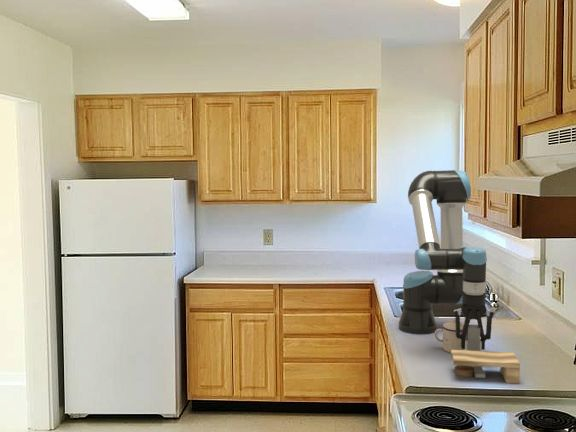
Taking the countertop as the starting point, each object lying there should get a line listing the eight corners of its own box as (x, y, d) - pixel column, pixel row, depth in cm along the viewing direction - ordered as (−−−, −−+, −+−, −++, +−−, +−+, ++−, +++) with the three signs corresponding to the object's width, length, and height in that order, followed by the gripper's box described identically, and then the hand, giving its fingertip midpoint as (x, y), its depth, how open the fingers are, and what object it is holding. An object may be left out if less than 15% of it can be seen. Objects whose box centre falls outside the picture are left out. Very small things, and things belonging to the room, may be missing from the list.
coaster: (453, 370, 197) (453, 364, 196) (472, 370, 196) (472, 364, 195) (456, 377, 191) (456, 371, 190) (475, 377, 190) (475, 371, 189)
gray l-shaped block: (465, 357, 207) (466, 324, 205) (477, 357, 206) (478, 324, 204) (474, 377, 189) (474, 341, 187) (486, 378, 188) (487, 342, 187)
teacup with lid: (468, 346, 218) (469, 316, 217) (467, 355, 210) (467, 323, 208) (435, 343, 222) (436, 313, 221) (432, 351, 214) (433, 320, 212)
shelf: (450, 368, 198) (451, 349, 197) (512, 371, 194) (513, 352, 194) (453, 380, 188) (454, 360, 187) (519, 383, 185) (519, 363, 184)
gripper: (449, 294, 199) (448, 360, 202) (502, 296, 196) (500, 362, 199) (447, 289, 206) (446, 353, 209) (497, 290, 204) (496, 354, 207)
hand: (472, 357), depth 204 cm, fingers closed on gray l-shaped block, 4 cm apart
